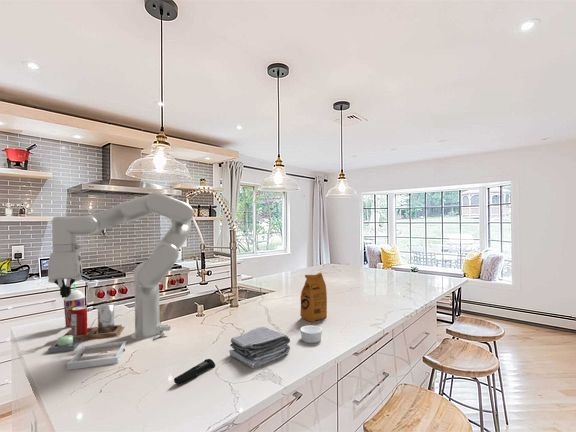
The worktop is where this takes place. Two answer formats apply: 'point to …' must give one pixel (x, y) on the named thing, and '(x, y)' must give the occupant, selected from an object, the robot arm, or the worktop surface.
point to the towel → (259, 346)
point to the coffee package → (314, 298)
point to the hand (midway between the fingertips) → (65, 296)
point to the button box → (72, 347)
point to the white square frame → (96, 362)
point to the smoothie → (73, 304)
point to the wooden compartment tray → (94, 335)
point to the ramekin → (311, 334)
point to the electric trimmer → (194, 371)
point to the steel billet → (106, 318)
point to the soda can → (79, 321)
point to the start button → (65, 340)
